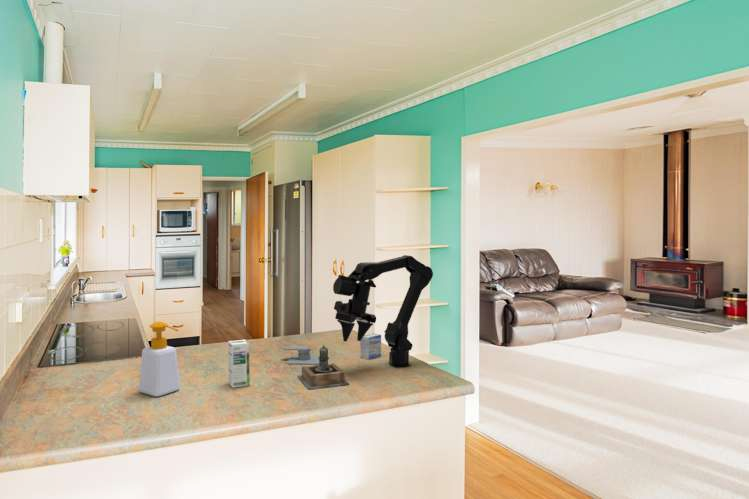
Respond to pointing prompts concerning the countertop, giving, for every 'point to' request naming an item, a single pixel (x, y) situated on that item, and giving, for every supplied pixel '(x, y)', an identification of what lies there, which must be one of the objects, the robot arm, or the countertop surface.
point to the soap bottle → (159, 365)
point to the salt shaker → (323, 362)
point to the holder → (322, 377)
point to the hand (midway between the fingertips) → (351, 341)
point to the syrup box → (238, 363)
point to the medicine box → (370, 346)
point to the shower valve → (302, 356)
